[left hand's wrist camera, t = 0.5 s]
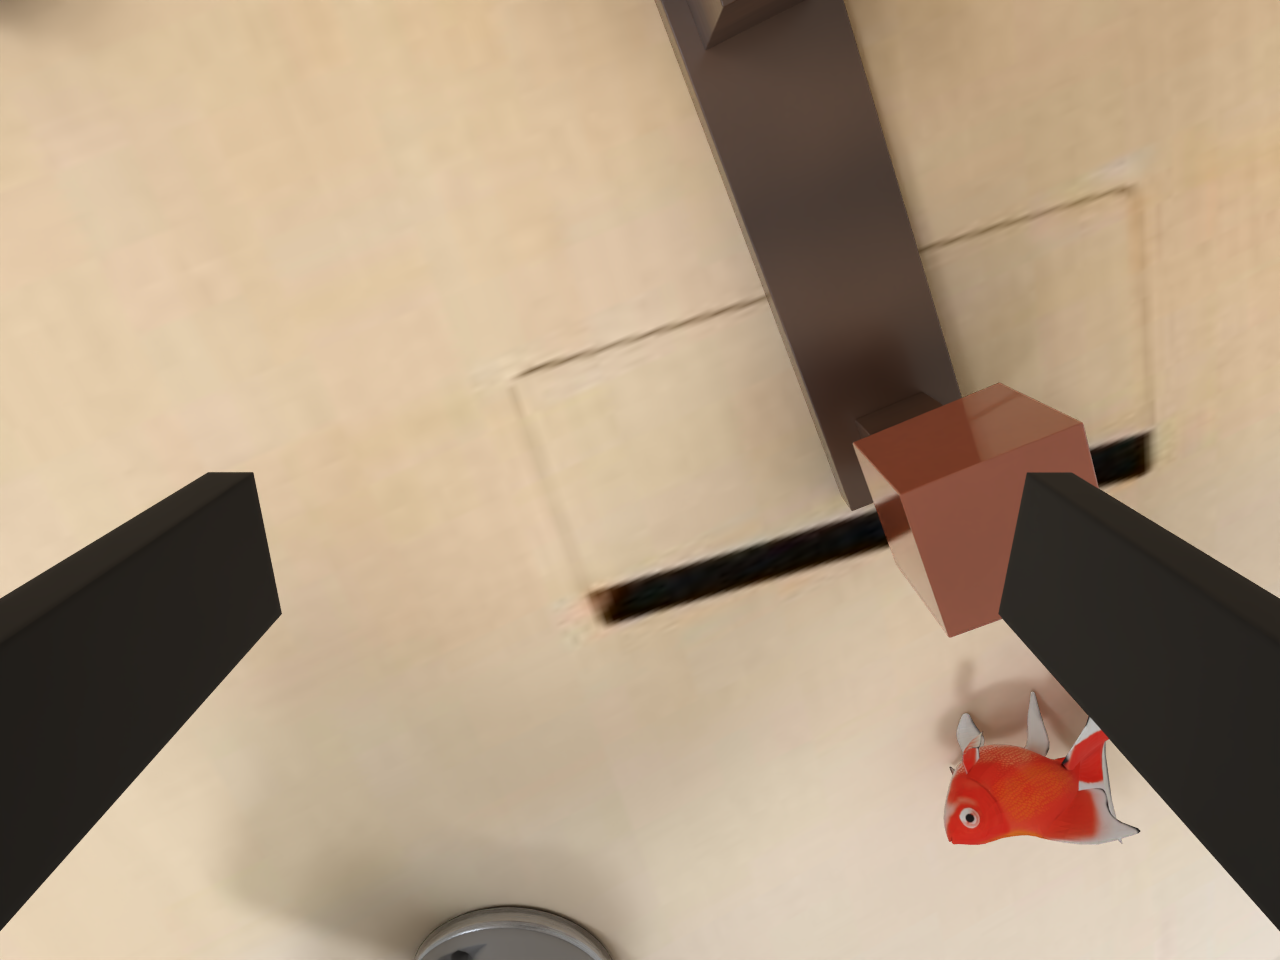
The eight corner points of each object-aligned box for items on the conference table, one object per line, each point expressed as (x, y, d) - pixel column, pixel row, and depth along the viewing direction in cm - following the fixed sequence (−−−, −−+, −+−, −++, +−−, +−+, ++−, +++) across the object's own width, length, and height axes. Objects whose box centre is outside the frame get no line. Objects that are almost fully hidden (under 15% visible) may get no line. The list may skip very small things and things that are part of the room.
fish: (910, 693, 39) (1075, 859, 32) (1103, 579, 44) (1283, 701, 37) (882, 792, 46) (1014, 947, 39) (1052, 683, 51) (1196, 803, 44)
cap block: (1035, 511, 32) (1120, 576, 26) (896, 564, 33) (949, 638, 27) (999, 381, 30) (1083, 422, 24) (851, 442, 31) (899, 494, 25)
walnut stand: (964, 448, 39) (1053, 514, 31) (842, 497, 40) (895, 574, 32) (788, -132, 30) (845, -264, 22) (635, -50, 31) (634, -146, 23)
